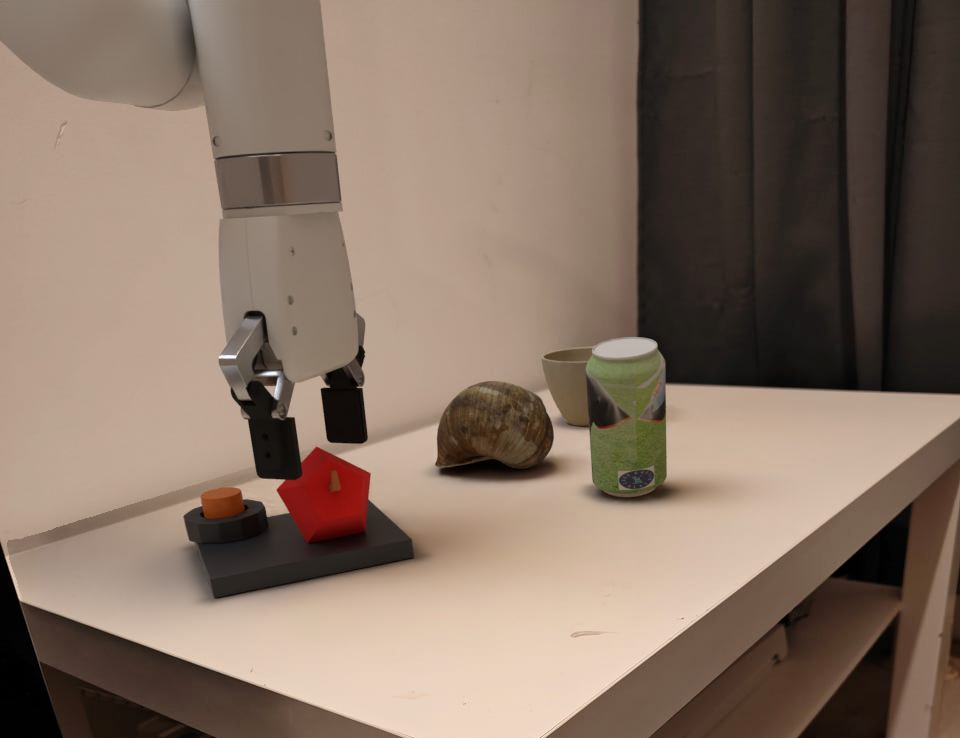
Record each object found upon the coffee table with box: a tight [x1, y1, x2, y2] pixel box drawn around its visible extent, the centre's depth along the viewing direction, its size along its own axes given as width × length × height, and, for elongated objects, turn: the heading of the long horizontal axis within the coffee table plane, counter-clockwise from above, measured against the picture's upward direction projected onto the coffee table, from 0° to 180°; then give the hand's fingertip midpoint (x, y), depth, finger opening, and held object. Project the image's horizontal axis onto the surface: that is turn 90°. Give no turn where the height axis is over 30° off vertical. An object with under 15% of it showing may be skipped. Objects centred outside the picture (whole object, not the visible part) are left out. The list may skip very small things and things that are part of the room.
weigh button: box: [199, 486, 245, 519], centre depth 70 cm, size 3×3×2 cm
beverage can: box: [586, 336, 668, 498], centre depth 74 cm, size 6×7×12 cm
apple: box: [275, 446, 372, 543], centre depth 66 cm, size 7×7×8 cm
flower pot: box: [540, 346, 594, 427], centre depth 100 cm, size 10×10×7 cm
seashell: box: [434, 380, 555, 470], centre depth 85 cm, size 11×9×8 cm
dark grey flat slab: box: [183, 498, 415, 599], centre depth 69 cm, size 14×13×3 cm
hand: (316, 459), depth 66 cm, fingers open, 9 cm apart
